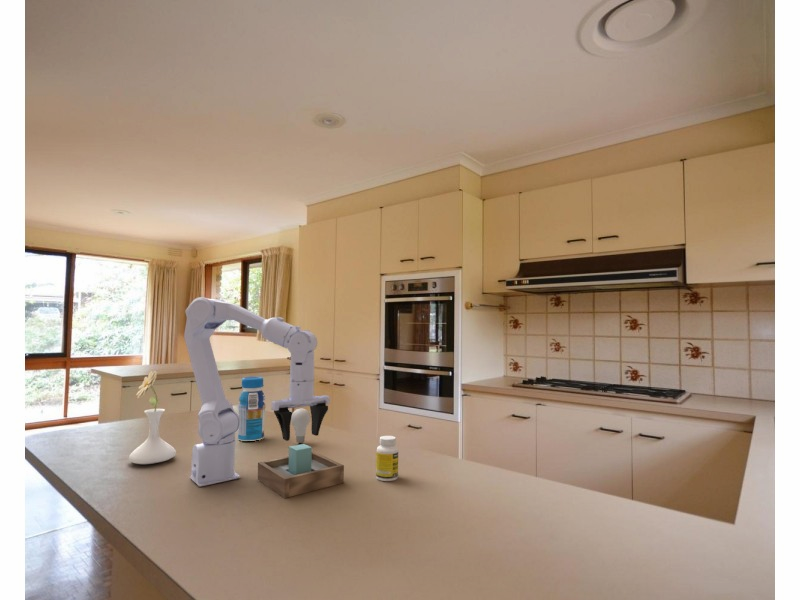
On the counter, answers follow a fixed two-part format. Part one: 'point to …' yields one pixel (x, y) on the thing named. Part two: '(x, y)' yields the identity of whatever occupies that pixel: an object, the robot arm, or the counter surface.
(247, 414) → the beverage bottle
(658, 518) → the counter surface
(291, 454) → the peg
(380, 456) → the supplement bottle
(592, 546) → the counter surface
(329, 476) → the bore box
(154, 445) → the flower in vase
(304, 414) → the lightbulb
